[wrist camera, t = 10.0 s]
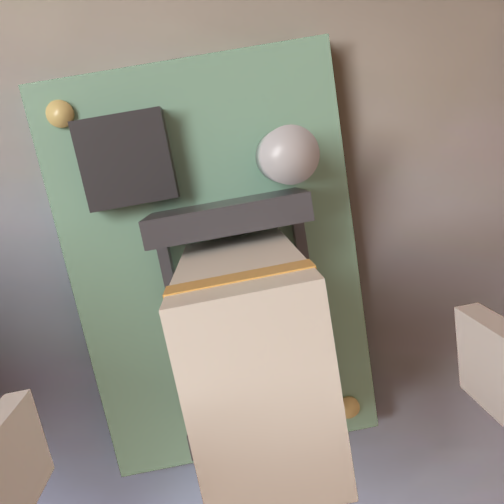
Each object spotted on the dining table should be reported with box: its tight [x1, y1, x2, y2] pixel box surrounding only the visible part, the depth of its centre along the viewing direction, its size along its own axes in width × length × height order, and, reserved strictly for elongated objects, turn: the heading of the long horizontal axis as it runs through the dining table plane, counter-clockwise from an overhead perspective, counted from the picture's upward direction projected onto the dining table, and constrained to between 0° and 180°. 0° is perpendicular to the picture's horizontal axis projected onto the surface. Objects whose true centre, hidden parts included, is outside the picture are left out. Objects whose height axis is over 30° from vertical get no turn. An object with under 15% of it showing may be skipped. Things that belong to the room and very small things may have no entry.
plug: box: [159, 227, 358, 504], centre depth 17 cm, size 7×5×10 cm, turn 10°
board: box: [18, 34, 378, 477], centre depth 21 cm, size 20×14×4 cm
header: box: [138, 187, 315, 461], centre depth 20 cm, size 11×7×4 cm, turn 10°
